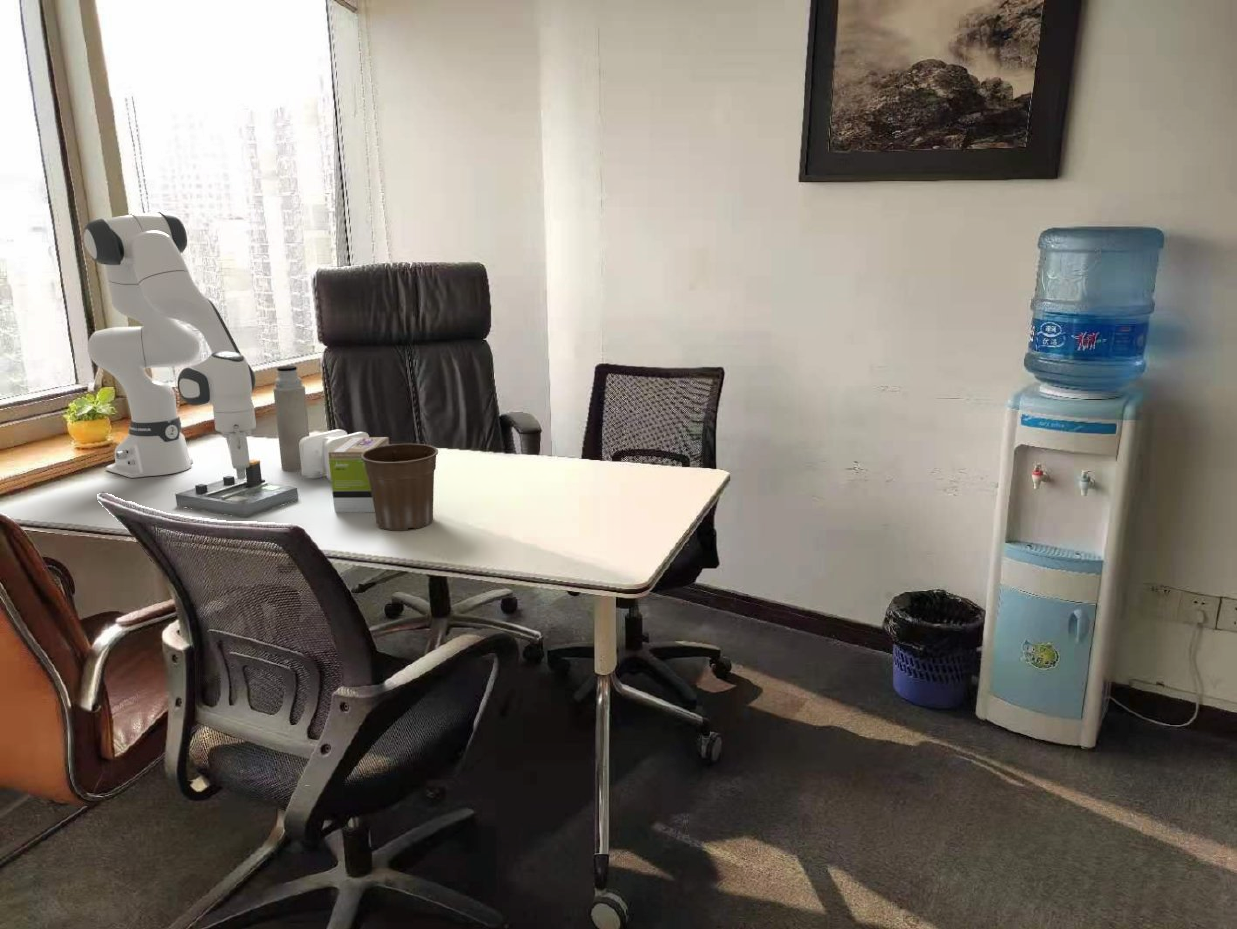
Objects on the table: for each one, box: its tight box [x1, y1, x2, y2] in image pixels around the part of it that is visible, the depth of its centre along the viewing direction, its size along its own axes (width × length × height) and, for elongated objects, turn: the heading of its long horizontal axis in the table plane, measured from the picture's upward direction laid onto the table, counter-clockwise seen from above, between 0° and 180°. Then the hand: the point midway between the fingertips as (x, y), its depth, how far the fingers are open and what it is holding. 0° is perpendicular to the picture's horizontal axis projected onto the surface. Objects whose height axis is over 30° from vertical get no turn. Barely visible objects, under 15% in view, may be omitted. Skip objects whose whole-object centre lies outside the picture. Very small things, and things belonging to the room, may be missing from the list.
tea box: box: [328, 436, 390, 513], centre depth 201 cm, size 15×10×15 cm, turn 178°
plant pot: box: [361, 443, 439, 532], centre depth 186 cm, size 16×16×16 cm
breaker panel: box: [174, 475, 299, 519], centre depth 203 cm, size 22×16×5 cm
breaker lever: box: [244, 459, 266, 486], centre depth 207 cm, size 3×4×6 cm
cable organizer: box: [299, 429, 370, 481], centre depth 225 cm, size 15×11×12 cm
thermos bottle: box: [272, 365, 310, 472], centre depth 232 cm, size 8×8×28 cm
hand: (241, 478), depth 204 cm, fingers closed
